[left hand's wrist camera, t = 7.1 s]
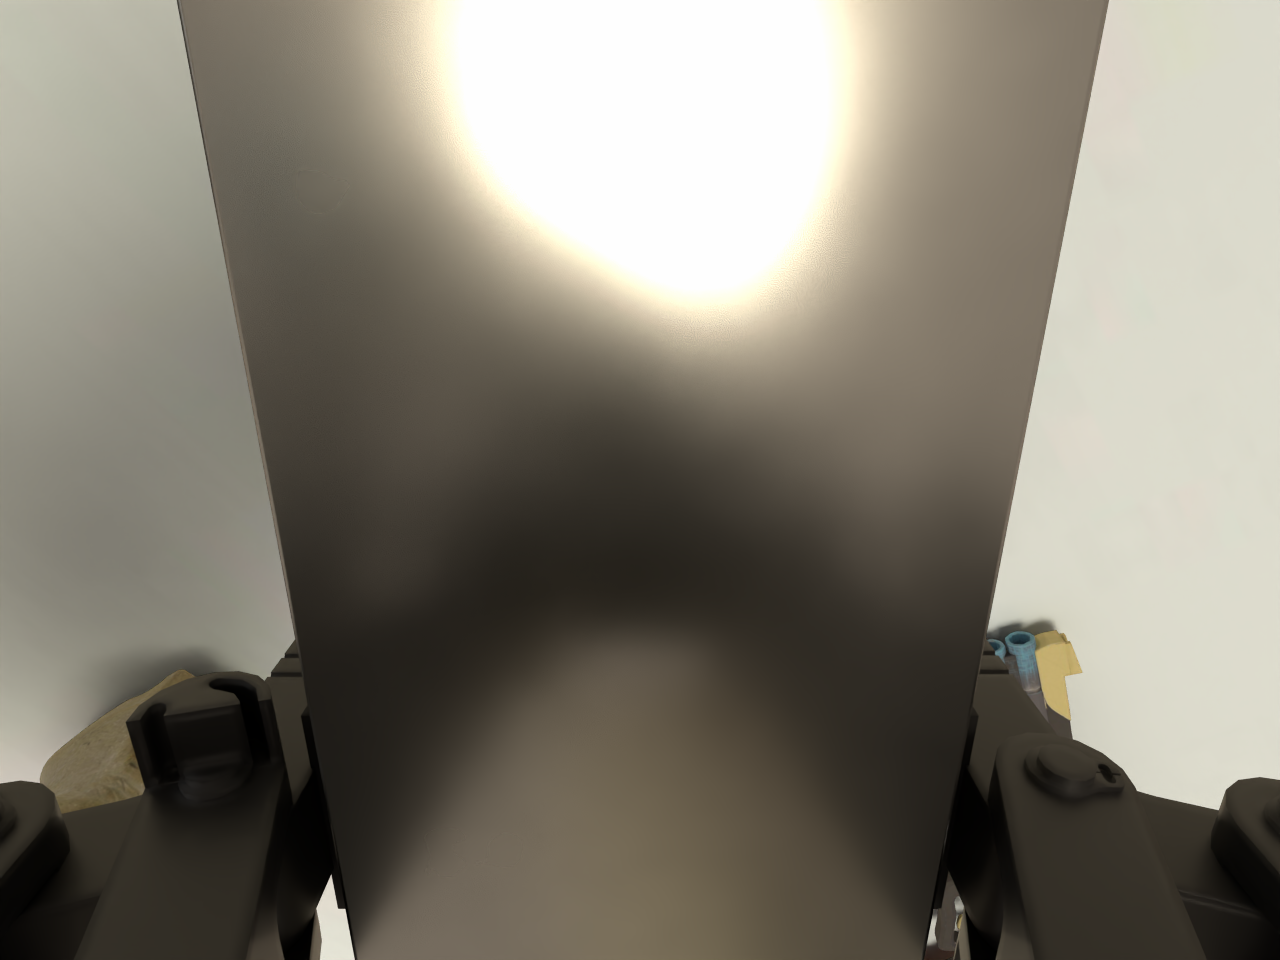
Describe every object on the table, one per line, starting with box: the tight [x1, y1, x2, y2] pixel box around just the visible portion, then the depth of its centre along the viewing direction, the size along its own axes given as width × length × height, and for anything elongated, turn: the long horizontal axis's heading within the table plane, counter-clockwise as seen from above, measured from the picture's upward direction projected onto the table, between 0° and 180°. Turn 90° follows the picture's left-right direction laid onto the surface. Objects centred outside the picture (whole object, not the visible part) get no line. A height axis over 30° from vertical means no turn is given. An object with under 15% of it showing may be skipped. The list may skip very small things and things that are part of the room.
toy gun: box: [935, 630, 1082, 960], centre depth 31 cm, size 3×19×10 cm
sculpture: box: [40, 669, 195, 814], centre depth 23 cm, size 6×7×15 cm
